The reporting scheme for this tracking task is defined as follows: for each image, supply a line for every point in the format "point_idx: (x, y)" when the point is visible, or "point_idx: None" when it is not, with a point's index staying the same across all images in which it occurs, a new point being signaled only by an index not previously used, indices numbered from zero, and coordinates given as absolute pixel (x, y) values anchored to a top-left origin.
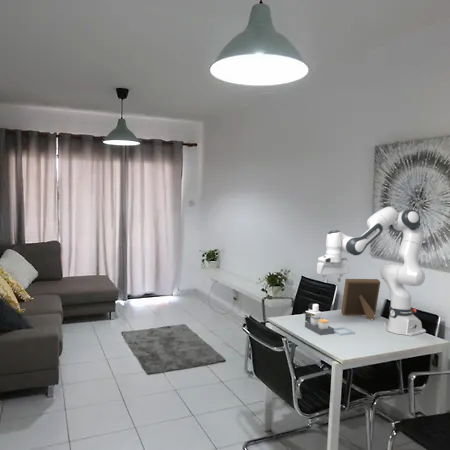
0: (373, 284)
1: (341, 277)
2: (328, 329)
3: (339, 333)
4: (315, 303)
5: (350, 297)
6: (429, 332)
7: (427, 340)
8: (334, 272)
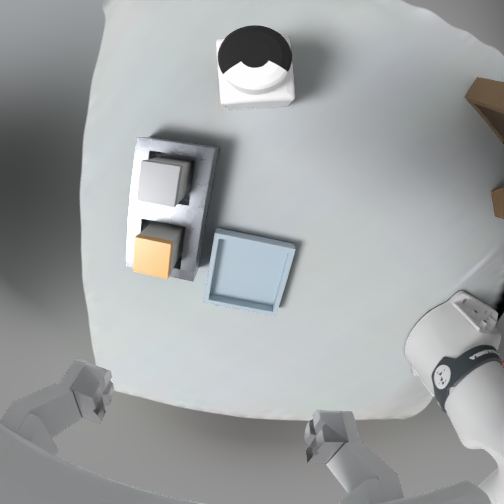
0: None
1: (340, 477)
2: None
3: (204, 297)
4: (272, 54)
5: None
6: None
7: (403, 401)
8: None
